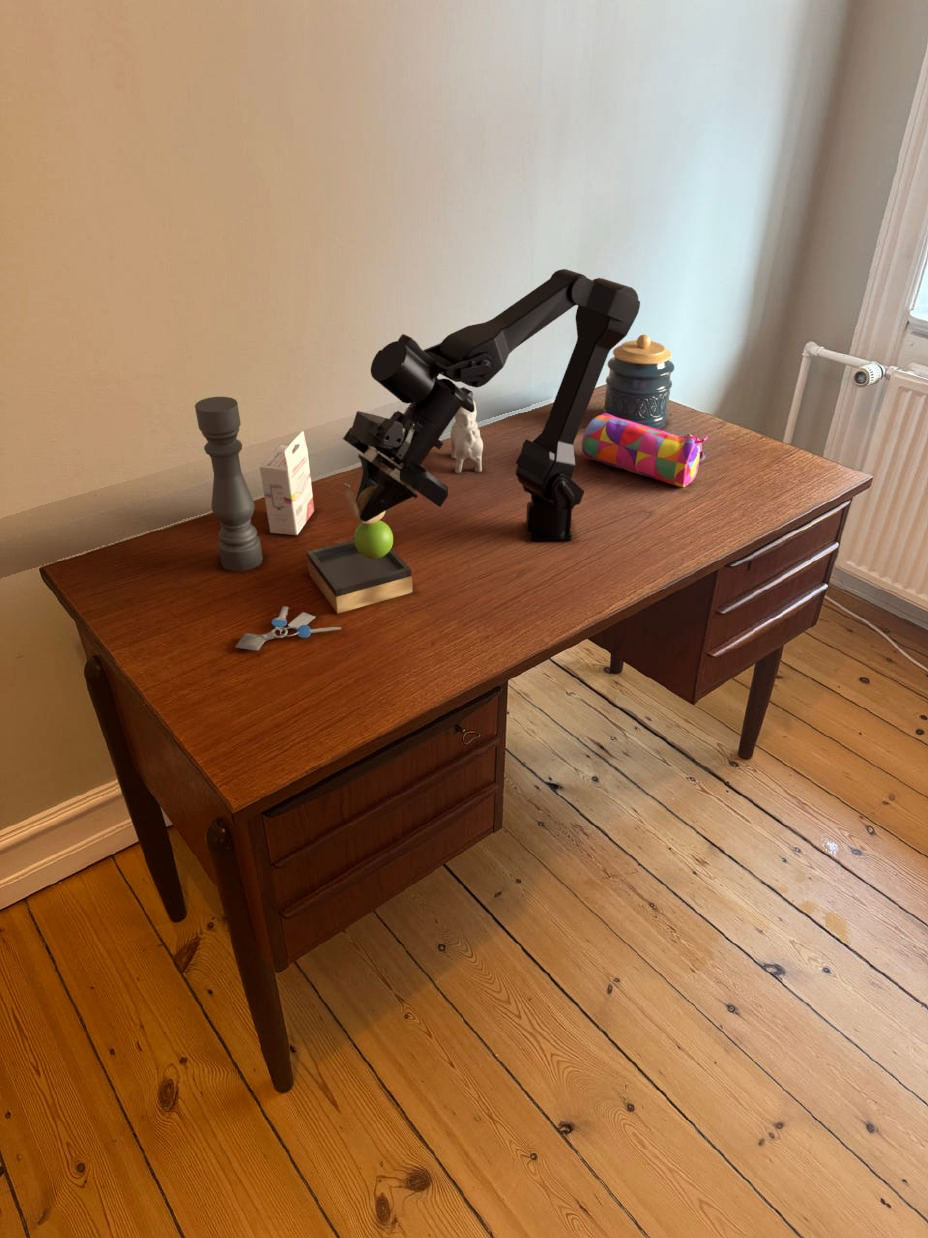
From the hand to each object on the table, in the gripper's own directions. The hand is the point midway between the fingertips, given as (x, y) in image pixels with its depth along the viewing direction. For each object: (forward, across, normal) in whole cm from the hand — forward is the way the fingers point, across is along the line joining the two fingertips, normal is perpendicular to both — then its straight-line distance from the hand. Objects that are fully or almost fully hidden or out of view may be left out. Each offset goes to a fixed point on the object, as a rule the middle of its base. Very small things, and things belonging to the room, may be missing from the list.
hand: (358, 517), depth 118 cm
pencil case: (-34, -8, +54) cm, 64 cm away
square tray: (+8, -4, +10) cm, 14 cm away
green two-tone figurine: (+4, 0, +6) cm, 7 cm away
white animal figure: (-17, -30, +37) cm, 50 cm away
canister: (-44, -25, +65) cm, 82 cm away
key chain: (+18, 0, 0) cm, 18 cm away
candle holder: (+17, -20, +2) cm, 26 cm away
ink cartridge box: (+9, -26, +10) cm, 30 cm away
